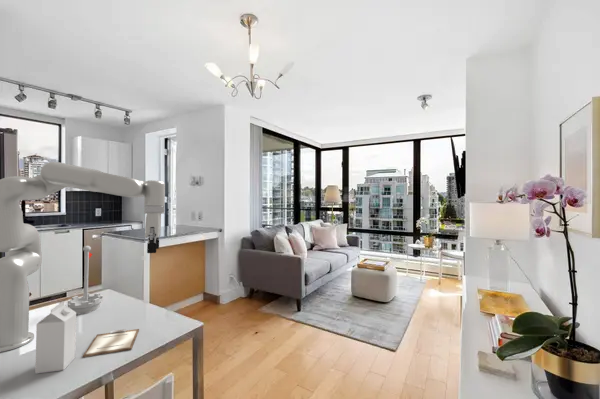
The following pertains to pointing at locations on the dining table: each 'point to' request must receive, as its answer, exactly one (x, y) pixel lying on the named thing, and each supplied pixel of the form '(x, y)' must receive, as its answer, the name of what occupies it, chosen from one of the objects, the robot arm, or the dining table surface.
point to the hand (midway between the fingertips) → (153, 250)
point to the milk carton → (56, 340)
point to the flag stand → (85, 292)
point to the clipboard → (112, 342)
